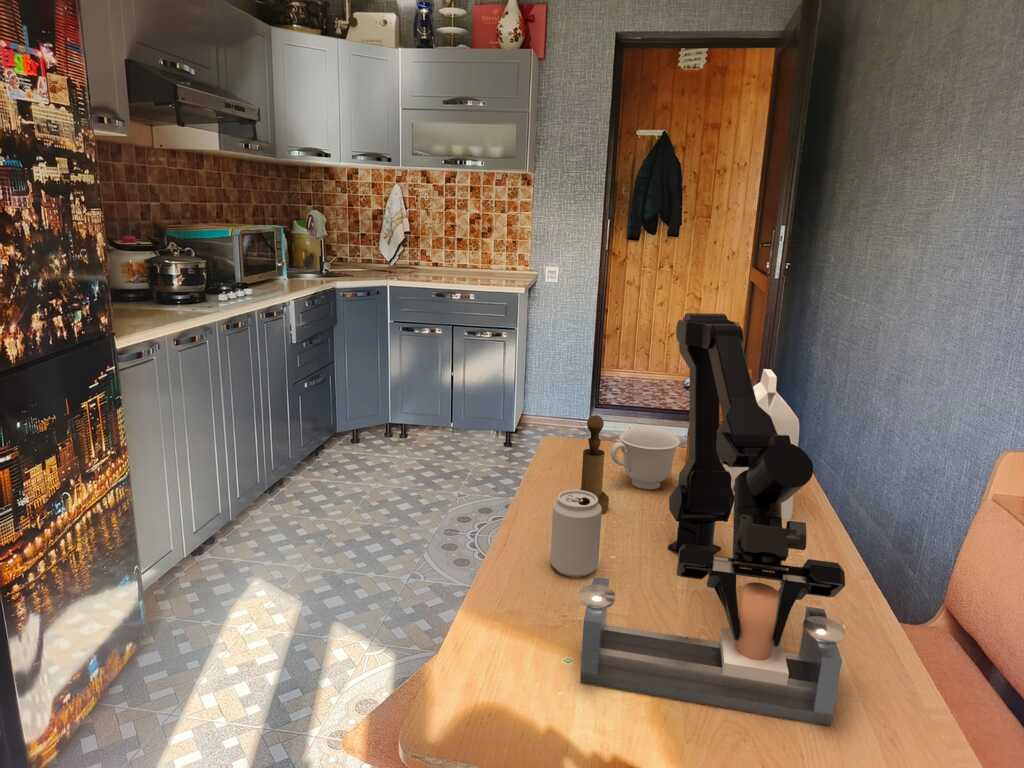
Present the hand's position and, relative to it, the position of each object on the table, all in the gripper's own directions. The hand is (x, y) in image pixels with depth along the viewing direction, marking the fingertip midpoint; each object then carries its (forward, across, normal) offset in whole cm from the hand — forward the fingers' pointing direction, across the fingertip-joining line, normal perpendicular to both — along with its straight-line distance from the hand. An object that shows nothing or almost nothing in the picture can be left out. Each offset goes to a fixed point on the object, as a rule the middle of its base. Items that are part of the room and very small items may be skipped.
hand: (756, 643), depth 81 cm
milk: (-35, +6, +44) cm, 57 cm away
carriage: (+1, 0, +3) cm, 4 cm away
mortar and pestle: (-27, -24, +37) cm, 52 cm away
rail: (+4, -6, +6) cm, 9 cm away
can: (-12, -24, +21) cm, 34 cm away
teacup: (-37, -16, +47) cm, 62 cm away
